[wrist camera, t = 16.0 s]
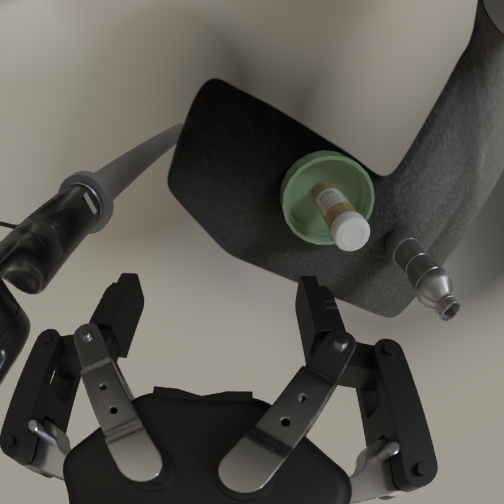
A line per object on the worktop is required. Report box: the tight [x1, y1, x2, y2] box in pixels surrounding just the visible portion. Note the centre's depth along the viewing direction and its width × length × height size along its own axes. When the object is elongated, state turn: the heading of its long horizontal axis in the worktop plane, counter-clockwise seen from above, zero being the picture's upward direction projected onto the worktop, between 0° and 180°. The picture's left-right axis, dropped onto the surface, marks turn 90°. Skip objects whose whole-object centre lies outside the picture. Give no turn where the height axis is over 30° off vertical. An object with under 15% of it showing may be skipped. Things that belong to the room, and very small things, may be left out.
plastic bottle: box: [385, 228, 460, 321], centre depth 39 cm, size 6×7×20 cm
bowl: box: [280, 151, 375, 245], centre depth 41 cm, size 14×14×4 cm
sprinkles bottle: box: [311, 181, 370, 251], centre depth 36 cm, size 5×5×14 cm
